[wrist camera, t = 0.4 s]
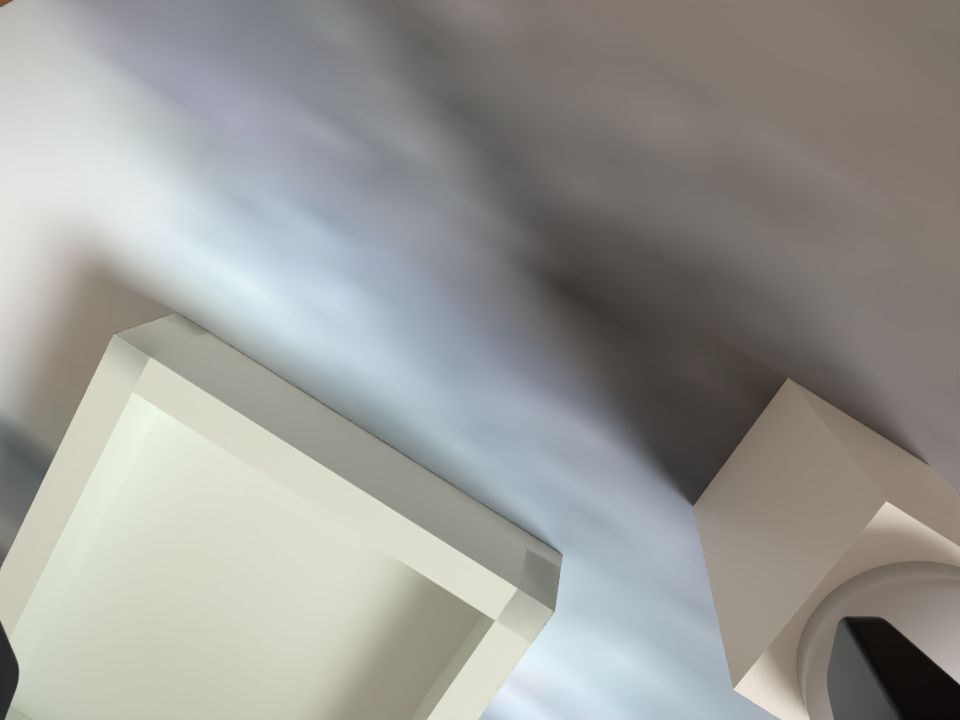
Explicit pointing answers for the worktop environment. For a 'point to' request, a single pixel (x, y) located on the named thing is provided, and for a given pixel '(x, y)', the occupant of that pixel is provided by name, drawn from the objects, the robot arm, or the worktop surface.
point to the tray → (254, 558)
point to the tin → (4, 2)
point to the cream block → (824, 550)
